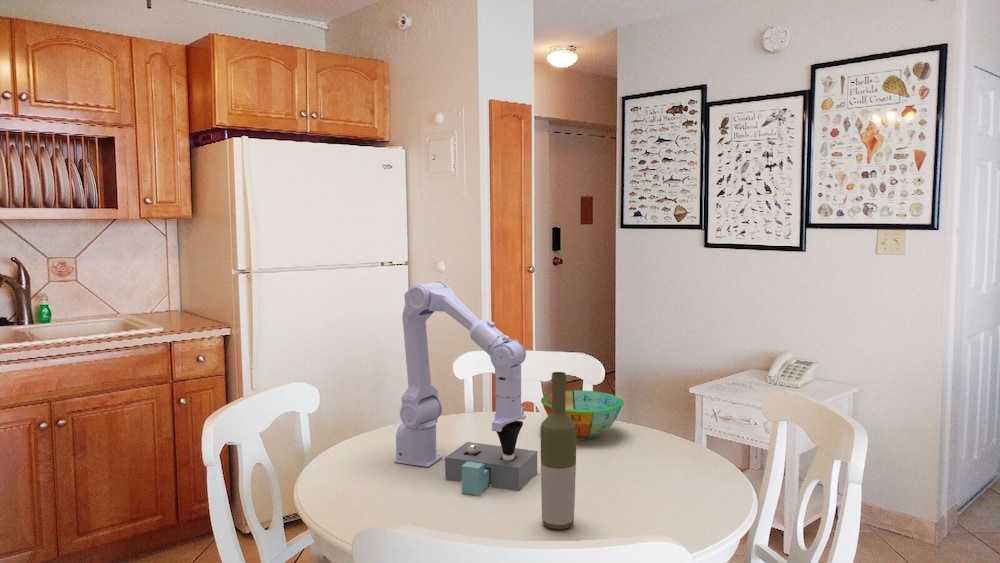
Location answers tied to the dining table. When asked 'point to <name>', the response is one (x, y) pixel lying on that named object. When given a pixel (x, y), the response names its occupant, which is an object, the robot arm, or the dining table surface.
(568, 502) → the bottle
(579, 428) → the bowl
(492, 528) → the dining table surface
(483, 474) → the cartridge
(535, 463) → the housing
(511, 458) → the plunger right
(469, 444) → the plunger left
